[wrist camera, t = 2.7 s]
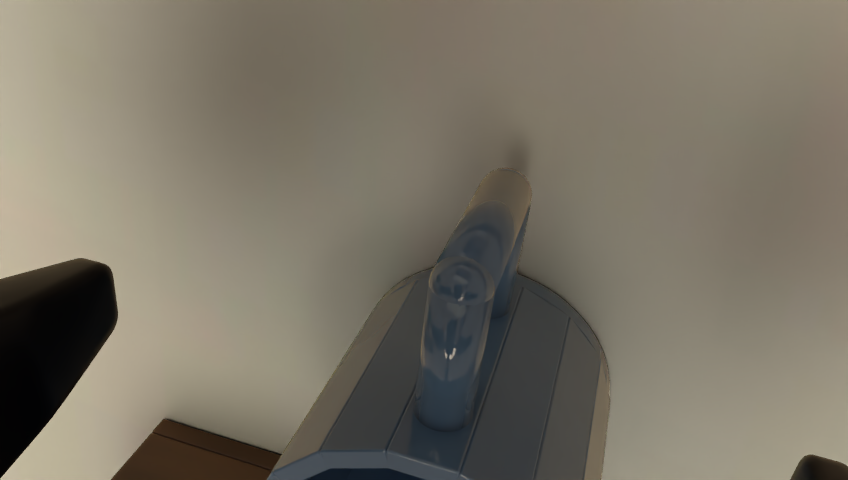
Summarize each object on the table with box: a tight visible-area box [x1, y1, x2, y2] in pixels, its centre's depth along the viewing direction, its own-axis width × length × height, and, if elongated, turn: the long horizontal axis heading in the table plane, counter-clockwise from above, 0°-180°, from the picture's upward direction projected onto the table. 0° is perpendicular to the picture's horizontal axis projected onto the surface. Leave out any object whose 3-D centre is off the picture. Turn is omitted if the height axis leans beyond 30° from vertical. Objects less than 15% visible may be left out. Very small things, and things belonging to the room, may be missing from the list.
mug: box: [266, 168, 610, 480], centre depth 15 cm, size 9×6×6 cm, turn 174°
